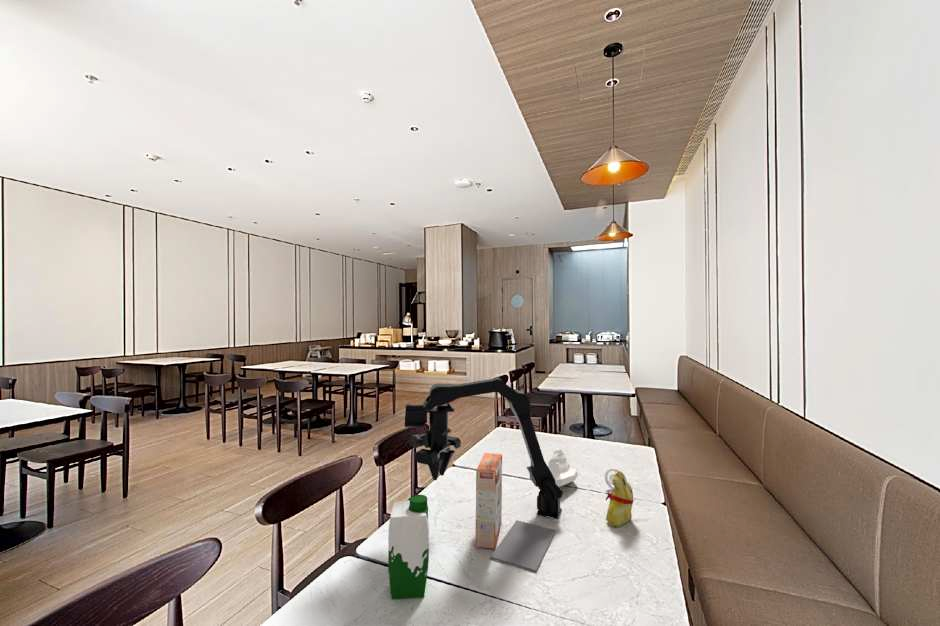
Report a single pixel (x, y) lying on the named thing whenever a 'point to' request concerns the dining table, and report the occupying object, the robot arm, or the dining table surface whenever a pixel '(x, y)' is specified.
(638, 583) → the dining table surface
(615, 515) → the chocolate bunny
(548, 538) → the mat
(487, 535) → the cracker box
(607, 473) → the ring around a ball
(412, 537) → the milk carton
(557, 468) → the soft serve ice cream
